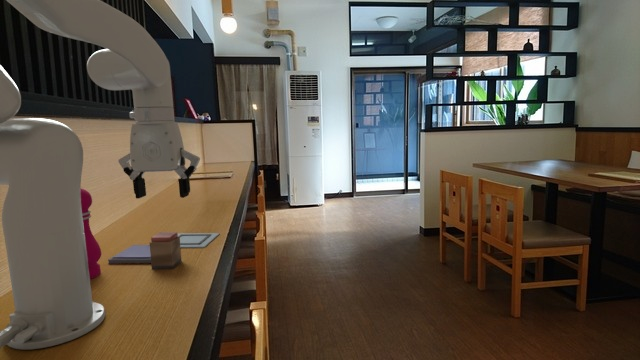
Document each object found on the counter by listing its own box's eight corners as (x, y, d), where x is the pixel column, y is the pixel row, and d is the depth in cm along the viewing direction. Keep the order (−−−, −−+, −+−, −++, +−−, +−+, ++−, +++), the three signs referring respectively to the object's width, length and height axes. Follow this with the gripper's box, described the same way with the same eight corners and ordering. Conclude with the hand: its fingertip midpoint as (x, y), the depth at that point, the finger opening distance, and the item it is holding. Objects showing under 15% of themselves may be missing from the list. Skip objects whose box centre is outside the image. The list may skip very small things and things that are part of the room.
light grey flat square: (204, 247, 95) (204, 245, 95) (157, 247, 96) (157, 246, 96) (219, 234, 107) (219, 232, 107) (178, 234, 108) (177, 232, 107)
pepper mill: (84, 284, 74) (72, 183, 71) (53, 281, 76) (40, 183, 73) (111, 270, 81) (101, 178, 78) (82, 268, 83) (72, 178, 80)
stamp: (172, 269, 81) (170, 237, 80) (151, 269, 81) (149, 237, 80) (181, 261, 86) (179, 231, 85) (161, 261, 86) (159, 231, 85)
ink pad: (151, 263, 85) (151, 258, 84) (108, 263, 85) (108, 258, 85) (171, 249, 94) (171, 244, 94) (132, 249, 95) (132, 244, 95)
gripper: (104, 118, 76) (114, 201, 78) (188, 115, 75) (195, 200, 77) (125, 118, 83) (133, 194, 86) (202, 115, 82) (208, 192, 85)
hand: (162, 196), depth 82 cm, fingers open, 9 cm apart
